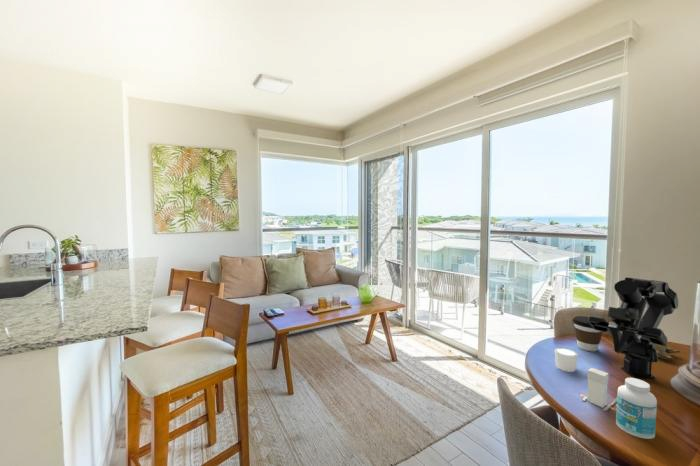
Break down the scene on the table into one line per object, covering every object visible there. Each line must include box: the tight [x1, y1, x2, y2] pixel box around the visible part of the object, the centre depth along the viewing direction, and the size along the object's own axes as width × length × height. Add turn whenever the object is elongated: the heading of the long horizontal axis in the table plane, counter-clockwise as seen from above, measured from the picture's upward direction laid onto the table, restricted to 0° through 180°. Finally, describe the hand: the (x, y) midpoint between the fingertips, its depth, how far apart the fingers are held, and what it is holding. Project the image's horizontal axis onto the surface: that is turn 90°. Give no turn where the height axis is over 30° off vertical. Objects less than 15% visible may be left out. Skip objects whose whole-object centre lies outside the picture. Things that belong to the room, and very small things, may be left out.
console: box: [579, 393, 617, 412], centre depth 91 cm, size 14×9×1 cm, turn 121°
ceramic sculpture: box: [654, 344, 681, 360], centre depth 121 cm, size 11×9×15 cm
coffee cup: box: [571, 315, 603, 352], centre depth 126 cm, size 11×11×12 cm
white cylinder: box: [554, 347, 579, 373], centre depth 109 cm, size 7×7×7 cm
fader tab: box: [586, 367, 609, 409], centre depth 88 cm, size 3×4×10 cm
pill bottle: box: [615, 377, 658, 440], centre depth 78 cm, size 8×7×14 cm
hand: (616, 352), depth 96 cm, fingers closed
